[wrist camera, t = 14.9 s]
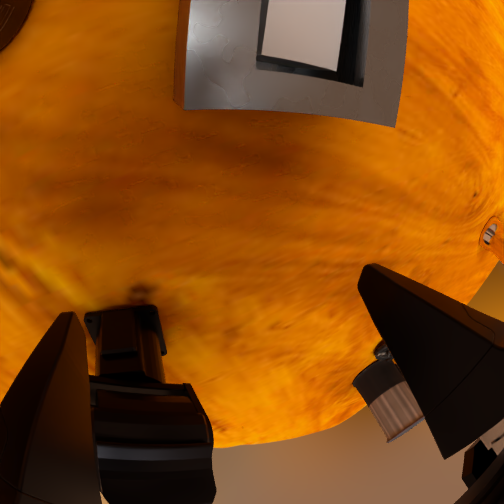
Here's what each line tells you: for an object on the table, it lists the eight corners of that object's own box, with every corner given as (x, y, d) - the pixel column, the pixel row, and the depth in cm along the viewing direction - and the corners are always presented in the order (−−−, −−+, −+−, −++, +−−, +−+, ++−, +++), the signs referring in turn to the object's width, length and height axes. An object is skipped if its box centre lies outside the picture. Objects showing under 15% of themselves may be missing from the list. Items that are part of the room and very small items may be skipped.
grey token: (315, 69, 13) (336, 71, 12) (247, 57, 12) (261, 54, 10) (327, -17, 10) (348, -24, 8) (261, -37, 9) (276, -49, 7)
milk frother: (358, 388, 52) (392, 442, 41) (333, 375, 43) (376, 447, 31) (411, 346, 50) (451, 397, 39) (402, 320, 41) (456, 387, 29)
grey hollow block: (335, 108, 18) (394, 127, 13) (173, 100, 14) (183, 110, 10) (347, -23, 12) (408, -36, 7) (187, -56, 8) (208, -103, 4)
